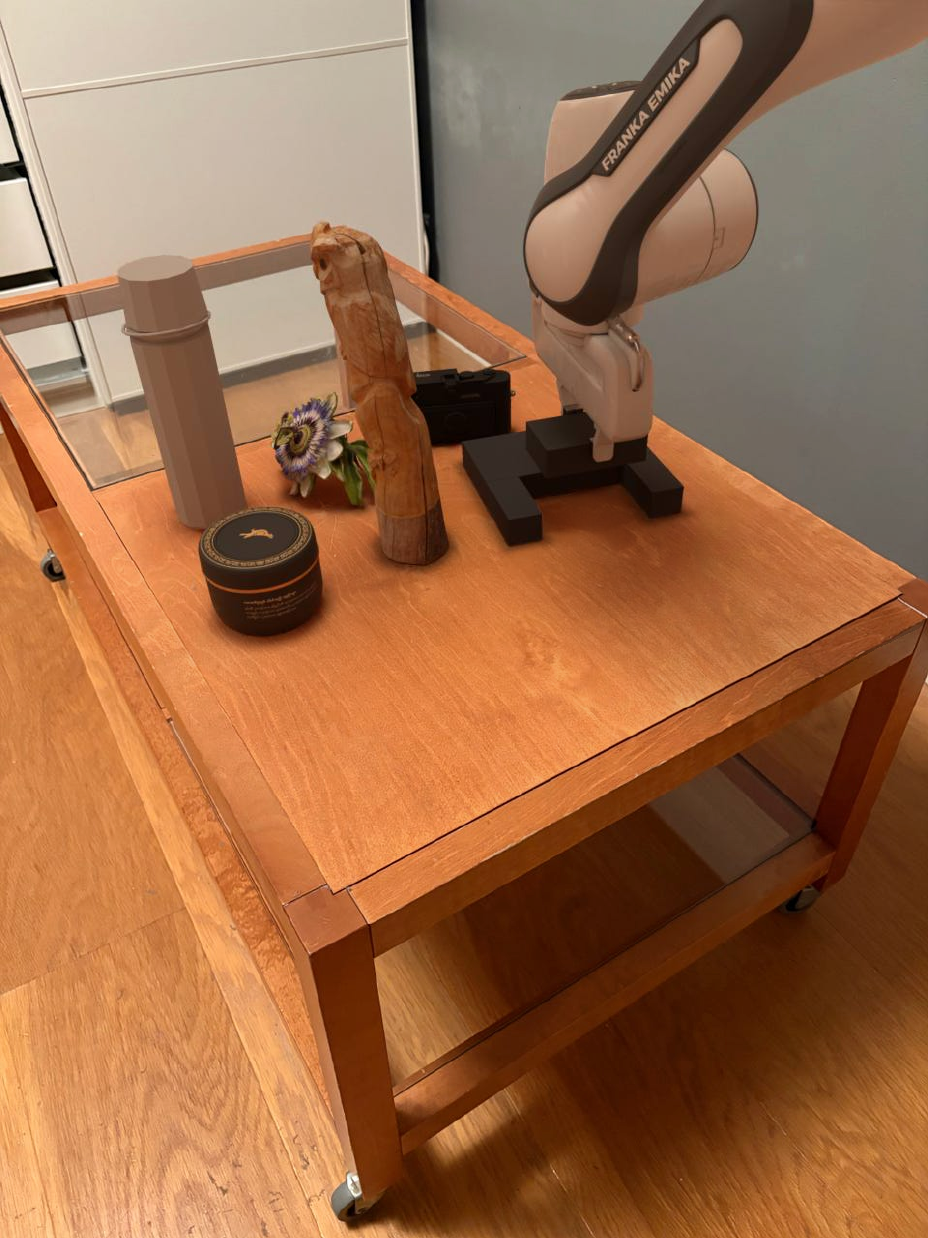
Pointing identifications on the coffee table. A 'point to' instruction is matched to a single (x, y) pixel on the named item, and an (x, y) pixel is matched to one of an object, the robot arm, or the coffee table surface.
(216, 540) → the jar
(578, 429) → the black pad
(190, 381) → the water bottle
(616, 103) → the robot arm
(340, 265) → the sculpture
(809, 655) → the coffee table surface
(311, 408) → the passion flower
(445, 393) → the camera
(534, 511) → the base pad
